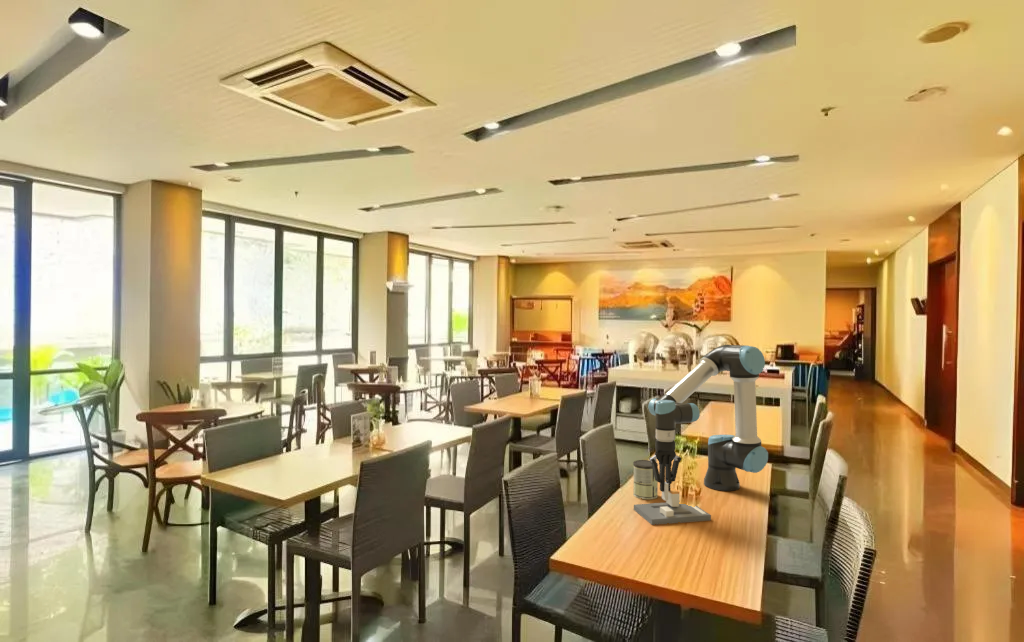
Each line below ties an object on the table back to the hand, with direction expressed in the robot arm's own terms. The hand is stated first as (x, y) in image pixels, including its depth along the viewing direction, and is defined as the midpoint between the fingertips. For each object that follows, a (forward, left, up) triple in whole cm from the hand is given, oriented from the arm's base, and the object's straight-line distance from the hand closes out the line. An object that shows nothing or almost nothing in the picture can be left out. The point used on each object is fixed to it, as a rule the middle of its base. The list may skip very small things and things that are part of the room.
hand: (665, 499), depth 213 cm
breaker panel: (0, +4, -5) cm, 6 cm away
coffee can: (-1, -19, -5) cm, 20 cm away
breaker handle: (-3, 0, -2) cm, 4 cm away
